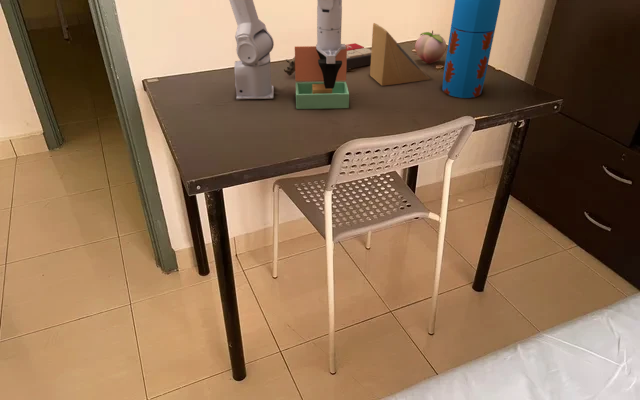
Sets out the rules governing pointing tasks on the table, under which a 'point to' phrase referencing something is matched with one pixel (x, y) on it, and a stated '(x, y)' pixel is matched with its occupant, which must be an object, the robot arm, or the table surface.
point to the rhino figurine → (290, 66)
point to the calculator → (357, 56)
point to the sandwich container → (391, 61)
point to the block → (320, 89)
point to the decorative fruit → (430, 47)
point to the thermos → (469, 47)
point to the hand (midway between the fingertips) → (328, 82)
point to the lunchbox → (321, 96)
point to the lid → (315, 64)
